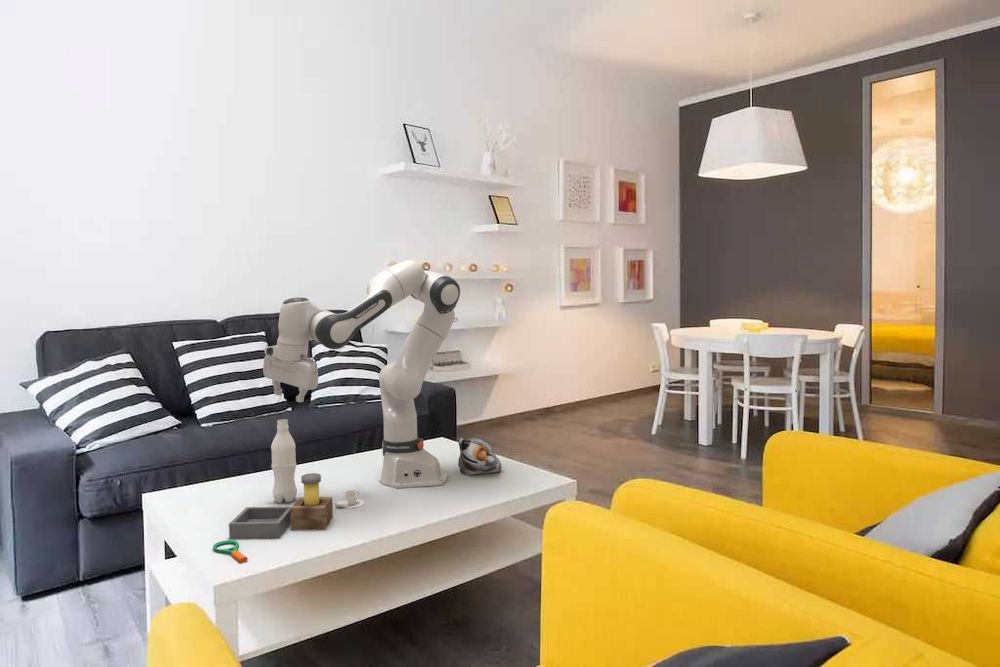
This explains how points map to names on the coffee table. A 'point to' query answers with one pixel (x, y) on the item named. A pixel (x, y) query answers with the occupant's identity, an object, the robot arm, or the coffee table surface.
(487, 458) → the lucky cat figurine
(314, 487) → the peg
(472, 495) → the coffee table surface
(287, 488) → the water bottle
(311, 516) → the holder
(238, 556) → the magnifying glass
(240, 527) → the tray
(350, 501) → the teacup and saucer
